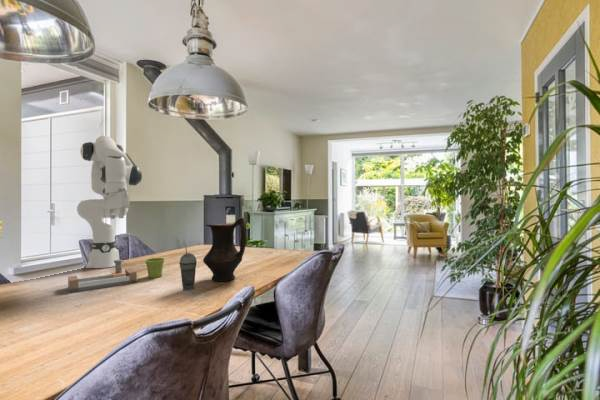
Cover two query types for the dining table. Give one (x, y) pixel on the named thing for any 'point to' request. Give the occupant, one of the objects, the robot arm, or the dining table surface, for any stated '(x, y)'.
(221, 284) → the dining table surface
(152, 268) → the plant pot
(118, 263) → the keeper
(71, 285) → the track
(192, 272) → the beverage cup
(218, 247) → the jug
